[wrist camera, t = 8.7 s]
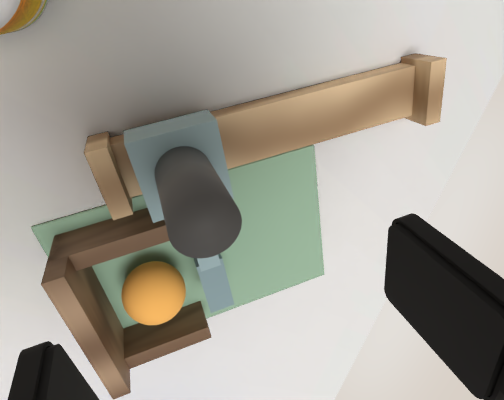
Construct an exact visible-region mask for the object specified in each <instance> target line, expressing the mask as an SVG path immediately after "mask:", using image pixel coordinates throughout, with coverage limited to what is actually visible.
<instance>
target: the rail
mask: <svg viewBox="0 0 504 400" xmlns="http://www.w3.org/2000/svg"><path fill="white" fill-rule="evenodd" d="M446 60H447V58H442V57H435V56H428V55H422V54H411V55H408V56H404V57H401V63H398V64H394V65H391V66H387V67H383V68H379V69H375V70H371V71H367V72H363V73H359V74H356V75H352V76H348V77H344V78H340V79H336V80H332V81H328V82H324V83H321V84H317V85H313V86H309V87H305V88H301V89H297V90H293V91H289V92H286V93H282V94H278V95H274V96H270V97H266V98H262V99H258V100H254V101H251V102H247V103H243V104H239V105H235V106H231V107H227V108H223V109H219V110H216V111H212V112H210V113H211V114H212V115H213V116H214V117H215V118H216V119H217V123H218V128H219V132H220V137H221V141H222V146H223V151H224V155H225V160H226V164H227V169H230V168H234V167H237V166H241V165H244V164H248V163H251V162H254V161H258V160H261V159H265V158H268V157H271V156H275V155H278V154H282V153H285V152H289V151H292V150H295V149H299V148H302V147H306V146H309V145H312V144H316V143H319V142H323V141H326V140H330V139H333V138H336V137H340V136H343V135H347V134H350V133H354V132H357V131H360V130H364V129H367V128H371V127H374V126H377V125H381V124H384V123H388V122H391V121H395V120H398V119H401V118H406V119H409V120H411V121H414V122H417V123H419V124H422V125H425V126H427V125H431V124H434V123H437V122H440V115H441V106H442V97H443V87H444V78H445V69H446ZM84 154H85V157H86V159H87V161H88V164H89V166H90V168H91V170H92V173H93V175H94V177H95V180H96V182H97V184H98V187H99V189H100V191H101V194H102V196H103V198H104V200H105V203H106V205H107V207H108V210H109V212H110V214H111V217H112V219H113V220H116V219H119V218H123V217H126V216H129V215H133V205H132V197H135V196H138V195H142V191H141V189H140V186H139V183H138V180H137V178H136V175H135V172H134V169H133V167H132V164H131V161H130V159H129V156H128V153H127V150H126V148H125V145H124V134H122V135H118V136H114V137H110V136H109V133H108V132H104V133H100V134H96V135H92V136H88V137H87V142H86V146H85V151H84Z"/></svg>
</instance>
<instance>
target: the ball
mask: <svg viewBox="0 0 504 400" xmlns="http://www.w3.org/2000/svg"><path fill="white" fill-rule="evenodd" d="M185 296H186V287H185V282H184V279H183V277H182V275H181V274H180V272H179V271H178V270H177V269H176V268H175V267H173V266H172V265H170V264H168V263H165V262H161V261H151V262H146V263H143V264H141V265H139V266H138V267H136V268H135V269H134V270H132V271H131V273H130V274H129V275H128V276H127V278H126V279H125V282H124V284H123V287H122V294H121V297H122V303H123V306H124V309H125V311H126V312H127V314H128V315H129V316H130V317H131V318H132V319H133V320H135V321H137V322H139V323H141V324H144V325H159V324H162V323H165V322H167V321H169V320H170V319H172V318H173V317H174V316H175V315H176V314H177V313H178V312H179V311H180V309H181V307H182V306H183V303H184V300H185Z"/></svg>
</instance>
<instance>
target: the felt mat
mask: <svg viewBox="0 0 504 400" xmlns="http://www.w3.org/2000/svg"><path fill="white" fill-rule="evenodd" d="M228 173H229V178H230V183H231V187H232V192H233V196H234V198H233V200H234V202H235V203H236V205H237V207H238V208H239V210H240V213H241V217H242V226H241V230H240V233H239V235H238V237H237V239H236V240H235V242H234V243H233V244H232V245H231V246H230V247H229V248H228V249H227V250H225V251H224V252H222V253H220V254H221V256H222V259H223V263H224V266H225V270H226V274H227V278H228V282H229V285H230V289H231V293H232V297H233V301H234V305H232V306H229V307H226V308H224V309H221V310H218V311H215V312H213V313H211V312H210V309H209V306H208V302H207V299H206V296H205V293H204V290H203V287H202V283H201V280H200V277H199V274H198V271H197V268H196V264H195V261H194V258H191V257H187V256H185V255H183V254H181V253H179V252H178V251H177V250H176V249H175V248H174V247H173V246H172V244H171V243H170V241H168V242H165V243H161V244H158V245H155V246H152V247H149V248H146V249H143V250H140V251H137V252H134V253H130V254H127V255H124V256H121V257H118V258H115V259H112V260H109V261H106V262H103V263H99V264H96V265H93V266H92V268H93V270H94V272H95V274H96V276H97V278H98V280H99V282H100V284H101V285H102V287H103V289H104V291H105V293H106V295H107V297H108V299H109V301H110V303H111V305H112V307H113V309H114V311H115V313H116V315H117V317H118V319H119V321H120V323H121V325H122V327H123V328H126V327H129V326H132V325H134V324H137V323H139V322H137V321H135V320H133V319H132V318H131V317H130V316H129V315H128V314H127V312H126V311H125V309H124V306H123V303H122V297H121V294H122V287H123V284H124V282H125V279H126V278H127V276H128V275H129V274H130V273H131V271H132V270H134V269H135V268H136V267H138V266H139V265H141V264H143V263H146V262H151V261H161V262H165V263H168V264H170V265H172V266H173V267H175V268H176V269H177V270H178V271H179V272H180V274H181V275H182V277H183V279H184V282H185V287H186V296H185V300H184V303H183V306H182V307H184V306H187V305H190V304H192V303H195V302H198V301H201V304H202V307H203V310H204V313H205V317H206V318H209V317H212V316H214V315H217V314H220V313H222V312H225V311H228V310H230V309H233V308H236V307H239V306H241V305H244V304H247V303H249V302H252V301H255V300H257V299H260V298H263V297H265V296H268V295H271V294H273V293H276V292H279V291H281V290H284V289H287V288H289V287H292V286H295V285H297V284H300V283H303V282H306V281H308V280H311V279H314V278H316V277H319V276H322V275H324V265H323V253H322V240H321V228H320V215H319V202H318V190H317V177H316V164H315V152H314V145H313V144H312V145H309V146H306V147H302V148H299V149H295V150H292V151H289V152H285V153H282V154H278V155H275V156H271V157H268V158H265V159H261V160H258V161H254V162H251V163H248V164H244V165H241V166H237V167H234V168H230V169H228ZM132 205H133V212H135V211H138V210H141V209H145V208H147V205H146V202H145V199H144V197H143V194H142V195H138V196H135V197H132ZM111 218H112V217H111V214H110V212H109V210H108V207H107V205H104V206H100V207H97V208H93V209H90V210H86V211H83V212H80V213H76V214H73V215H69V216H66V217H62V218H59V219H56V220H52V221H49V222H45V223H42V224H39V225H35V226H32V227H31V229H32V230H33V232H34V234H35V236H36V237H37V239H38V241H39V242H40V244H41V246H42V248H43V249H44V251H45V253H46V255H47V256H48V257H49V253H50V250H51V246H52V242H53V239H54V236H55V235H58V234H61V233H65V232H68V231H71V230H75V229H78V228H81V227H85V226H88V225H91V224H95V223H98V222H101V221H105V220H108V219H111Z"/></svg>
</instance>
